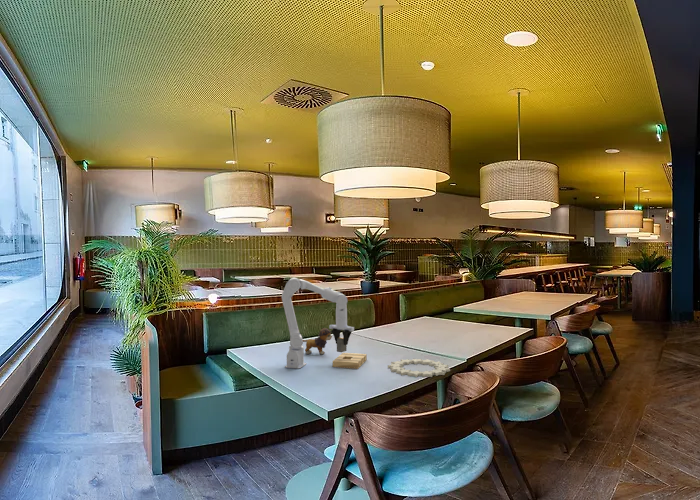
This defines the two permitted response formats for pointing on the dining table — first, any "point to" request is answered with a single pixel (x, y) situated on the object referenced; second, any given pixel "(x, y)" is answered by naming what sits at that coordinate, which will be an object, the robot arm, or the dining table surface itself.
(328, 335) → the figurine
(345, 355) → the hub plate
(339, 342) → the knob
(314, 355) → the dining table surface
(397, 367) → the decorative wreath
